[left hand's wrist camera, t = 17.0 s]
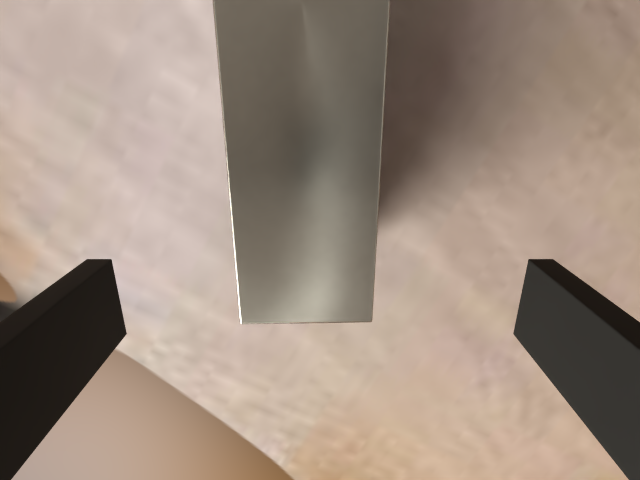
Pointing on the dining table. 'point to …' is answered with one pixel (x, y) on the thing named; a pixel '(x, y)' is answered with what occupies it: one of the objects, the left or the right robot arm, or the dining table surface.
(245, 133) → the bar
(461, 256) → the dining table surface
